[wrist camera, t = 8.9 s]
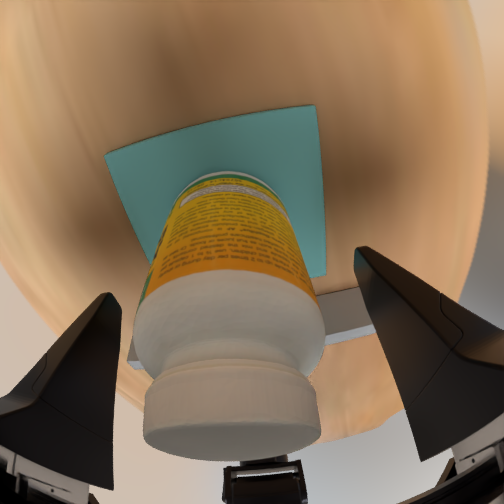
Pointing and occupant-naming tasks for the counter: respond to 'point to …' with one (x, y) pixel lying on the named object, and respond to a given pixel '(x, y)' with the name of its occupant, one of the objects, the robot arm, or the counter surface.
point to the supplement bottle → (229, 327)
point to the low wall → (325, 319)
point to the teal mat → (229, 159)
